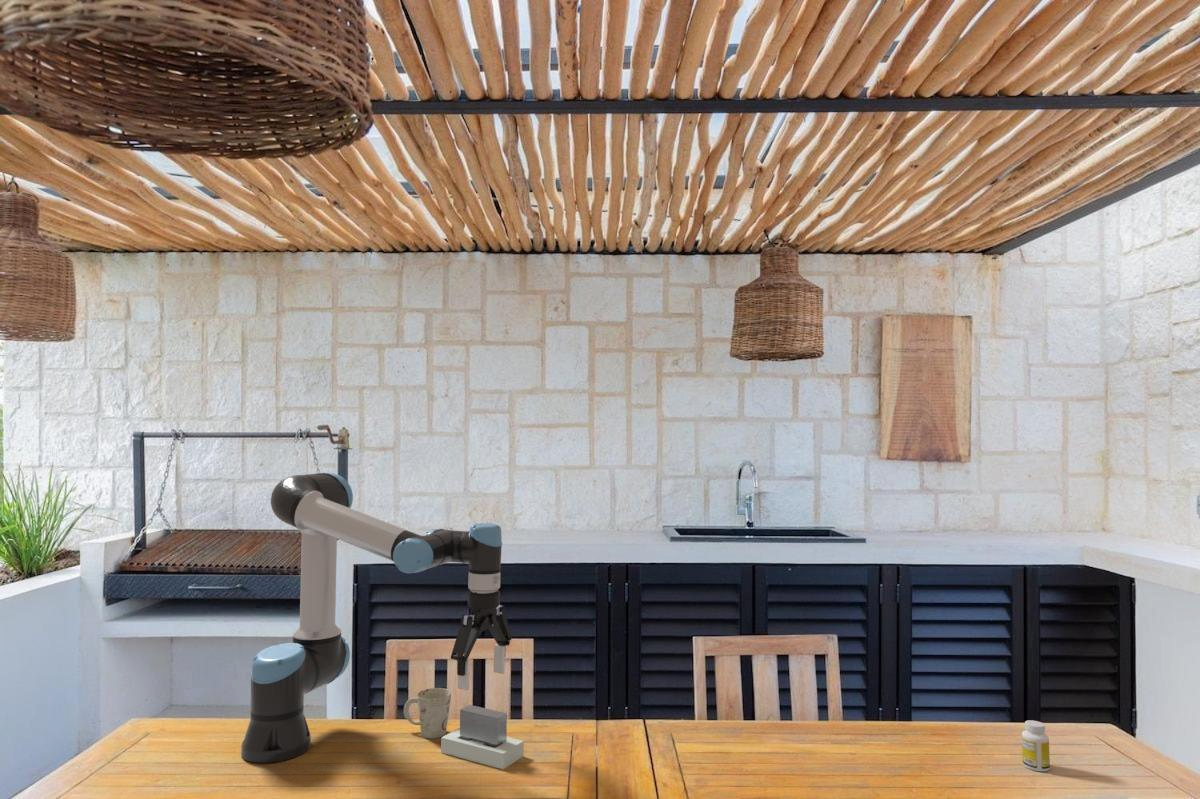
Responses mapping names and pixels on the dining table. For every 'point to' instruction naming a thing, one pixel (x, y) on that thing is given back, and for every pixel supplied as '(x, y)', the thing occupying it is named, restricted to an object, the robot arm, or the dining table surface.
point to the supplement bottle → (1035, 746)
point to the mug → (431, 711)
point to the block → (482, 750)
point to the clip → (483, 725)
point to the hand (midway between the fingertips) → (481, 680)
